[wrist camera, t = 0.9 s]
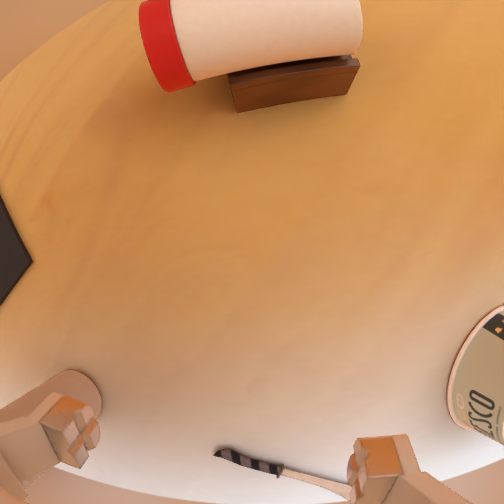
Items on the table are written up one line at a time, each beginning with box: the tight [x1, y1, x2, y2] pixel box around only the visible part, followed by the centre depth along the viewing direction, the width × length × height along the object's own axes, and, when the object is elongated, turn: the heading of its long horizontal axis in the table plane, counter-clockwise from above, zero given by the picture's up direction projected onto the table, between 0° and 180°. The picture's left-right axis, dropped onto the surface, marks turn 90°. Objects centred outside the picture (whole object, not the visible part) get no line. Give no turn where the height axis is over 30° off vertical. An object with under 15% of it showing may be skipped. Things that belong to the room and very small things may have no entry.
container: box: [139, 0, 363, 92], centre depth 15 cm, size 11×6×6 cm, turn 102°
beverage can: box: [0, 370, 102, 489], centre depth 16 cm, size 5×5×12 cm
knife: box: [213, 449, 352, 501], centre depth 21 cm, size 19×2×1 cm, turn 60°
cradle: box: [227, 55, 360, 113], centre depth 19 cm, size 8×6×4 cm
